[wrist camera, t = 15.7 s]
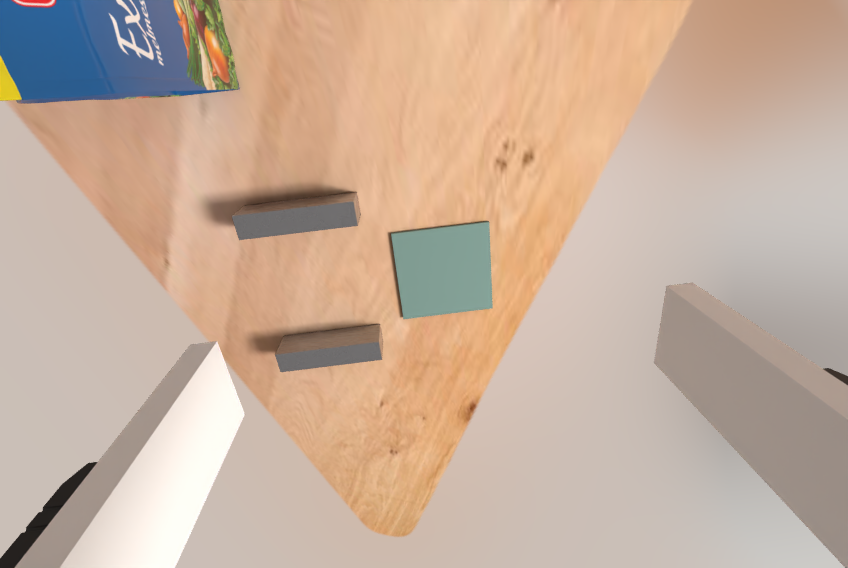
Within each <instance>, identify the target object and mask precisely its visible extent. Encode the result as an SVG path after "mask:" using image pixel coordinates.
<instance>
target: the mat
mask: <svg viewBox="0 0 848 568" xmlns="http://www.w3.org/2000/svg"><path fill="white" fill-rule="evenodd" d="M391 237H392V244H393V250H394V257H395V264H396V271H397V278H398V285H399V291H400V298H401V305H402V312H403V319H409V318H417V317H425V316H433V315H442V314H450V313H458V312H466V311H474V310H482V309H490V308H492V283H491V258H490V233H489V221H486V222H478V223H470V224H462V225H453V226H445V227H437V228H429V229H420V230H412V231H404V232H396V233H391Z"/></svg>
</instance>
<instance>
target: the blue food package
mask: <svg viewBox="0 0 848 568" xmlns="http://www.w3.org/2000/svg"><path fill="white" fill-rule="evenodd" d="M238 89H240V88H239V84H238V81H237V77H236V72H235V64H234V58H233V54H232V50H231V47H230V44H229V41H228V39H227V36H226V33H225V29H224V23H223V18H222V13H221V10H220V6H219V2H218V0H0V101H6V100H16V101H17V103H46V102H58V101H75V100H92V99H95V100H110V99H130V98H152V97H171V96H184V95H193V94H202V93H211V92H220V91H229V90H238Z"/></svg>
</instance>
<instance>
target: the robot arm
mask: <svg viewBox="0 0 848 568" xmlns="http://www.w3.org/2000/svg"><path fill="white" fill-rule="evenodd" d="M654 363H655V364H656V366H657V367H658V368H659V369H660V370H661V371H662V372H663V373H664V374H665V375H666V376H667V377H668V378H669V379H670V381H671V382H672V383H674V385H675V386H676V387H677V388H678V389H679V390H680V391H681V392H682V393H683V394H684V395H685V397H686V398H687V399H688V400H689V401H690V402H691V403H692V404H693V405H694V406H695V407H696V408H697V409H698V410H699V412H700V413H701V414H702V415H703V416H704V417H705V418H706V419H707V420H708V421H709V422H710V423H711V424H712V425H713V426H714V428H715V429H716V430H717V431H718V432H719V433H720V434H721V435H722V436H723V437H724V438H725V439H726V440H727V441H728V443H729V444H730V445H731V446H732V447H733V448H734V449H735V450H736V451H737V452H738V453H739V454H740V455H741V457H742V458H743V459H744V460H745V461H746V462H747V463H748V464H749V465H750V466H751V467H752V468H753V469H754V470H755V472H757V474H758V475H759V476H760V477H761V478H762V479H763V480H764V481H765V482H766V483H767V484H768V485H769V487H770V488H772V490H773V491H774V492H775V493H776V494H777V495H778V496H779V497H780V498H781V499H782V500H783V501H784V502H785V504H786V505H787V506H788V507H789V508H790V509H791V510H792V511H793V512H794V513H795V514H796V515H797V516H798V517H799V519H800V520H801V521H802V522H803V523H804V524H805V525H806V526H807V527H808V528H809V529H810V530H811V531H812V533H813V534H814V535H815V536H816V537H817V538H818V539H819V540H820V541H821V542H822V543H823V544H824V545H825V546H826V548H828V550H829V551H830V552H831V553H832V554H833V555H834V556H835V557H836V558H837V559H838V560H839V561H840V563H841V564H842V565H843V566H844V567H845V568H848V376H846V375H844V374H841V373H839V372H836V371H834V370H832V369H829V368H825V369H822V368H820V367H819V366H817V365H816V364H814V363H813V362H811V361H810V360H808V359H807V358H805V357H804V356H802V355H801V354H799V353H798V352H796V351H795V350H793V349H792V348H790V347H789V346H787V345H786V344H784V343H783V342H781V341H779V340H778V339H777V338H775V337H774V336H772V335H771V334H769V333H767V332H766V331H765V330H763V329H762V328H760V327H759V326H757V325H755V324H754V323H753V322H751V321H749V320H748V319H746V318H745V317H744V316H742V315H740V314H739V313H737V312H736V311H734V310H733V309H731V308H730V307H728V306H727V305H725V304H724V303H722V302H721V301H719V300H718V299H716V298H715V297H713V296H712V295H710V294H709V293H707V292H706V291H704V290H703V289H701V288H700V287H698V286H697V285H695V284H694V283H685V284H677V285H669V286H666V292H665V298H664V304H663V311H662V317H661V323H660V329H659V336H658V341H657V348H656V354H655V361H654ZM243 417H244V411H243V409H242V406H241V403H240V401H239V398H238V395H237V393H236V390H235V387H234V385H233V382H232V380H231V377H230V375H229V372H228V369H227V366H226V364H225V361H224V358H223V356H222V353H221V351H220V348H219V345H218V343H217V341H216V342H208V343H200V344H192V345H190V346H189V347H188V349H187V350H186V351H185V352H184V353H183V355H182V356H181V357H180V358H179V360H178V361H177V362H176V364H175V365H174V366H173V367H172V369H171V370H170V371H169V372H168V374H167V375H166V376H165V378H164V379H163V380H162V381H161V383H160V384H159V385H158V386H157V388H156V389H155V390H154V392H153V393H152V394H151V395H150V397H149V398H148V399H147V401H146V402H145V403H144V404H143V405H142V407H141V408H140V409H139V410H138V412H137V413H136V414H135V416H134V417H133V418H132V419H131V421H130V422H129V423H128V425H127V426H126V427H125V428H124V430H123V431H122V432H121V433H120V435H119V436H118V437H117V438H116V440H115V441H114V442H113V443H112V445H111V446H110V447H109V449H108V450H107V451H106V452H105V454H104V455H103V456H102V458H101V459H100V460H99V461H98V462H93V463H88V464H86V465H85V466H84V467H83V468H82V469H80V470H79V471H78V472H77V473H76V474H74V475H73V476H72V477H71V478H69V479H68V480H67V481H66V482H64V483H63V484H62V485H61V486H60V488H59V489H58V490H57V491H56V492H55V494H54V495H53V496H52V497H51V498H50V500H49V501H48V502H47V503H46V504H45V506H44V507H43V511H42V512H39V513H38V514H37V515H36V516H35V518H34V519H33V520H32V521H31V522H30V524H29V525H28V526H27V527H26V532H25V533H21V534H20V536H19V537H18V538H17V539H16V540H15V541H14V543H13V544H12V545H11V546H10V547H9V549H8V550H7V551H6V552H5V553H4V555H3V556H2V557H1V558H0V568H175V566H176V564H177V561H178V559H179V557H180V555H181V553H182V551H183V548H184V546H185V544H186V542H187V540H188V537H189V535H190V533H191V531H192V528H193V527H194V524H195V522H196V520H197V518H198V516H199V513H200V511H201V509H202V507H203V504H204V502H205V500H206V498H207V496H208V494H209V491H210V489H211V487H212V485H213V483H214V481H215V478H216V476H217V474H218V472H219V470H220V467H221V465H222V463H223V461H224V459H225V456H226V454H227V452H228V450H229V448H230V445H231V443H232V441H233V439H234V437H235V434H236V432H237V430H238V428H239V426H240V424H241V421H242V419H243Z"/></svg>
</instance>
